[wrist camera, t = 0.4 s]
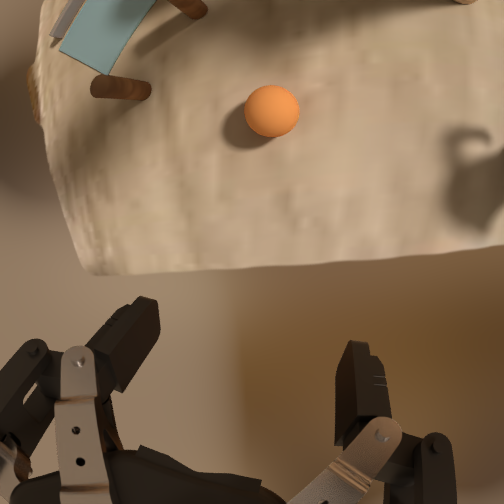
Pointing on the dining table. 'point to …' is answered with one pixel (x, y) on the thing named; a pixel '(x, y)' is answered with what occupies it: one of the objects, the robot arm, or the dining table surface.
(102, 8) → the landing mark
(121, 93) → the post outer
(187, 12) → the post inner
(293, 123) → the ball
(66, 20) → the wall
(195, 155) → the dining table surface
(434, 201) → the dining table surface
